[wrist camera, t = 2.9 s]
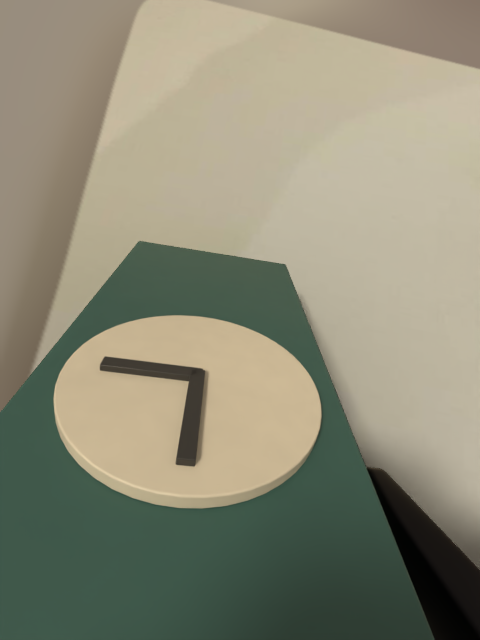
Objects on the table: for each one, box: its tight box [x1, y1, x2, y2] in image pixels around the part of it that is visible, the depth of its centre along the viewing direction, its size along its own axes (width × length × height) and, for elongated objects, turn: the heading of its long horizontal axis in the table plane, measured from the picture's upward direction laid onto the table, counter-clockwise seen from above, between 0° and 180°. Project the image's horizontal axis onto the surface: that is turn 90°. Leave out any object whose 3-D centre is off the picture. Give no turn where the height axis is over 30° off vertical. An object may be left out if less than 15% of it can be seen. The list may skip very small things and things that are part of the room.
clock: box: [0, 241, 435, 640], centre depth 10 cm, size 13×6×13 cm, turn 174°
